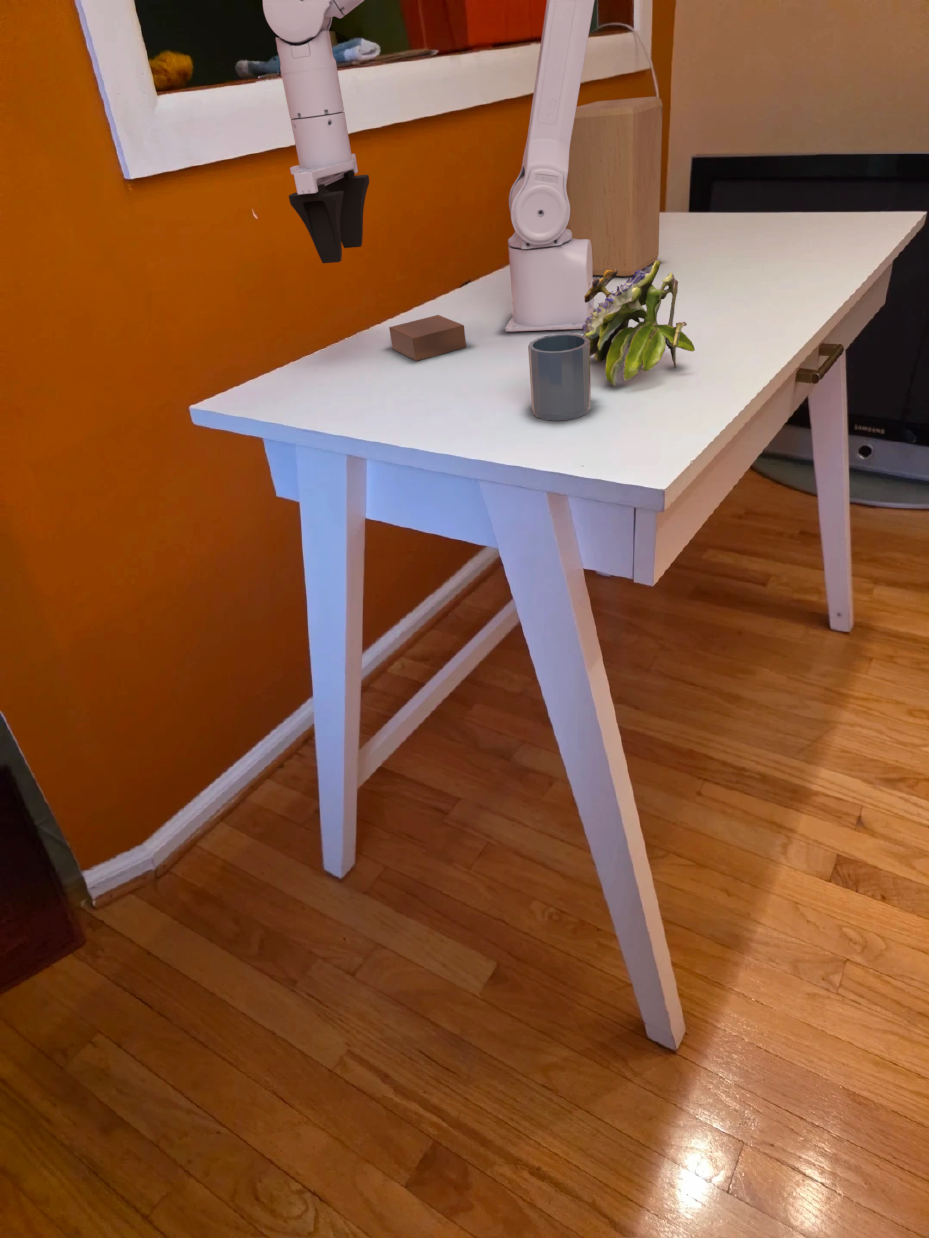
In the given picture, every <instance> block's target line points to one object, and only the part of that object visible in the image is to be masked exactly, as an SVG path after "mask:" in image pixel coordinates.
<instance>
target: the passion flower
mask: <svg viewBox="0 0 929 1238" xmlns="http://www.w3.org/2000/svg"><path fill="white" fill-rule="evenodd" d="M661 263H662V262H661V260H660V259H657V260H656V261H654V262H653V265H651V269H650V267H648V266H647V267H645V268H643V269H642V270H638V271H636V272H635V273H634V275H632V276H631V278H628V279H627V280H626V282H624V284H620V286H619V285H617V286H616V291H615V292H614V290H612V291H611V292H610V291H609V290H608V289H607V285H609V283H610V282H612V280H614V278H615V277H617V276H616V274H617V272H618V270H617V269H615V270H613V271H612V270H607V271H606V272H605V273H604V275H603V276H600V277H599V278H598V277H595V278H593V282H592V287H591V288H590V289H589V291H588V292H587V294H586V295H585V296H584V298H585V300H584V301H585V303H587V302H589V301H590V300H592V299H593V298H594V299H595V297H596V296H597V294H599V293H602V294H604V296H605V299H604V300H603V301H601V302H597V305H598V306H597V307H596V311H593V313H591V314H592V315H591V316H590V317H588V318H587V319H586V321H585V323H586V324H584V325H583V327H582V328H583V330H582V331H581V332H580V333H579V335H582V334H583V335H582V336H585V337H587V338H588V339H589V340H590V357H592V356H593V359H594V361H596V362H598V363H602V362H604V361H605V368H604V372H605V380H606V381H607V382H608V383H610V384H611V385H612V388H615V387H616V383H617V382H616V381H617V376H618V374H619V372H620V370H621V368H622V366H623V373H622V375H623V380H624V381H629V380H631V379H632V378H634V377H635V376H637V375H638V374H639V373H640V372H644V373H646V372H649V371H651V369H652V368H654V367H655V366H656V365H657V364H658V363H659V362H660V360H661V359H662V357H663V355H664V354H665V351H666V347H667V348H668V349H669V352H670V355H671V360H672V363H673V368H674V369H677V359H676V358H677V357H676V356H677V353H676V351H677V349H678V348H679V349H681V350H684V351H689V352H695V351H696V350H695V346H694V343H693V342H692V340H691V339H690V338H689V337H688V336H687V335H686V334H685V333H684V332H683V331H682V329H683V328H684V327H685V326H686V327H687V325H688V323H687V322H686V321H682V322H680V321H679V322H676V323H675V326H674V325H673V324H674V316H675V308H676V307H675V306H676V301H677V296H678V295H677V294H678V288H679V287H678V285H679V281H678V280H677V279H676V278H675V275H674V274H673V272H669V273H668V274H667V276H666V277H665V278H663V279H662V280H661V281H662V284H661V287H660V288H656V287H655V285H653V282H654V281H655V278H656V276H657V274H658V272H659V270H660V266H661ZM667 286H668V288H667V289H665V288H666V287H667ZM669 293H671V297H672V298H671V304H670V305H671V306H670V310H669V312H670V313H669V320H668V322H667V324H659V323H658V321H657V317H658V313H659V311H660V307H661V304H662V300H664V299H665V298H667V295H668V294H669ZM643 306H645V307H646V309H645V308H644V307H643ZM640 319H643V321H641V320H640ZM630 320H632V321H634V322H636V323H637V324H636V325H635V326H634V327H633V326H629V324H630ZM627 351H628V352H627ZM623 364H624V365H623Z"/></svg>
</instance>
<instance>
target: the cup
mask: <svg viewBox="0 0 929 1238" xmlns="http://www.w3.org/2000/svg"><path fill="white" fill-rule="evenodd" d="M527 348H528V350H527V351H528V352H527V353H528V365H529V380H530V382H529V383H530V398H531V399H530V400H531V408H532V414H533V415H534V416H535V417H536V418H538V419H541V420H545V421H553V422H557V421H558V422H559V421H561V422H562V421H569V420H575V419H577V418H581V417H583V416H585V415H587V414H588V413H589V412H590V411H591V408H592V407H591V402H592V397H591V396H592V395H591V393H592V391H591V387H592V385H591V356H590V340H589V339H588V338H587V337H585V336H583V335H582V334H576V333H556V334H549V335H544V336H541V337H538V338H535V339H533V340H532V341H530V342H529V344H528V346H527Z"/></svg>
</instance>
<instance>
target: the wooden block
mask: <svg viewBox="0 0 929 1238" xmlns="http://www.w3.org/2000/svg"><path fill="white" fill-rule="evenodd" d="M662 135H663V101H662V98H660V97H658V96H655V95H654V96H645V97H644V96H643V97H632V98H620V99H610V100H609V99H608V100H597V101H593V102H590V103H586V104H581V105H579V106H576V112H575V118H574V124H573V130H572V136H571V141H570V148H569V168H568V176H567V183H566V192H567V196H568V200H569V203H570V217H569V221H568V224H567V226H566V229H569V230H571V232H572V238H573V239H589V240H590V241H591V247H592V272H593V277H603V275H604V273H605V272H606V271H607V270H612V271H613V270H615V269H617V270H618V272H617V274H616V276H615V277H622V278H623V277H625V278H626V277H627V278H629V277H633V275H634V273H635V272H636V271H638V270H642V271H643V270H644V269H645V268H646V267H648V266H650V265H652V264H654V262H655V261H656V260H658V257H659V254H660V253H659V252H660V251H659V248H660V215H661V213H660V211H661V175H662V143H663V142H662V139H663V136H662Z"/></svg>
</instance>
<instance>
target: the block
mask: <svg viewBox="0 0 929 1238" xmlns="http://www.w3.org/2000/svg"><path fill="white" fill-rule="evenodd" d="M388 328H389V335H390V341H391V348H392V350H394V351H396V352H398V353H400V354H402V355H403V356H406V357H407V358H409V359H411V360H413V361H415V362H418V361H422V360H425V359H429V358H432V357H436V356H440V355H443V354H448V353H450V352H455V351H459V350H462V349H466V348H467V341H466V332H465V325H464V324H463V323H459V322H457V321H454V320H453V319H449V318H447V317H445V316H442V315H440V314H436V315H431V316H428V317H424V318H421V319H420V318H419V319H416V320H411V321H408V322H403V323H400V324H396V325H393V326H389V327H388Z"/></svg>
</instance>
